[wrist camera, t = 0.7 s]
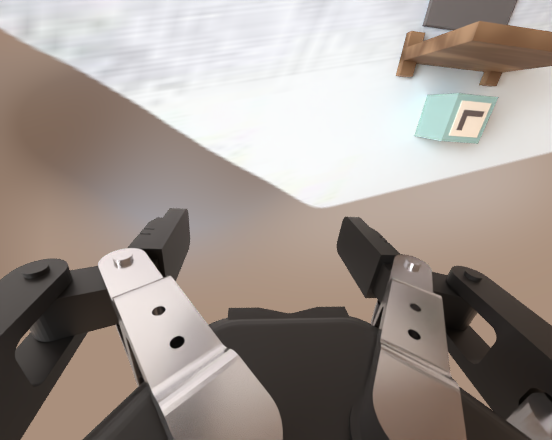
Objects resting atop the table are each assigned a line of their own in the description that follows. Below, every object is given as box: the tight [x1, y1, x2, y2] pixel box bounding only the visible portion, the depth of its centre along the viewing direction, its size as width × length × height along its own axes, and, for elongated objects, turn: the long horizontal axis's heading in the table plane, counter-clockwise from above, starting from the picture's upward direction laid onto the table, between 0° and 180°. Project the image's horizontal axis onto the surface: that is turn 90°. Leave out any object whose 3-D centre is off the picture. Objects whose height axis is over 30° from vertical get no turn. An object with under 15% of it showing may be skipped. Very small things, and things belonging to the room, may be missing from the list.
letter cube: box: [414, 93, 498, 144], centre depth 34 cm, size 6×6×6 cm
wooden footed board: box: [396, 21, 552, 86], centre depth 28 cm, size 5×16×12 cm, turn 86°
